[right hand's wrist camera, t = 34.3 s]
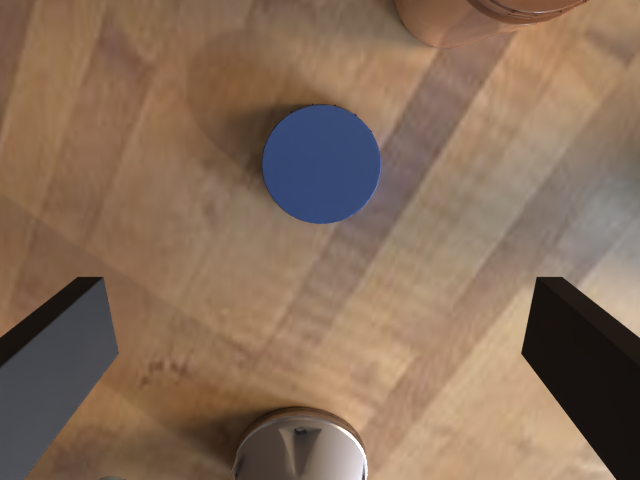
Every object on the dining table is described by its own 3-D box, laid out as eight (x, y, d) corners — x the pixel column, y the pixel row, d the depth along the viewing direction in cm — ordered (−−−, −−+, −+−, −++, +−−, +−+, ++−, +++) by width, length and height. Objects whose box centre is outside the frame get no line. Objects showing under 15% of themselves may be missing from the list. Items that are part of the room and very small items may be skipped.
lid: (251, 198, 38) (247, 204, 36) (282, 86, 35) (280, 86, 33) (355, 231, 39) (356, 238, 37) (395, 125, 36) (399, 127, 34)
